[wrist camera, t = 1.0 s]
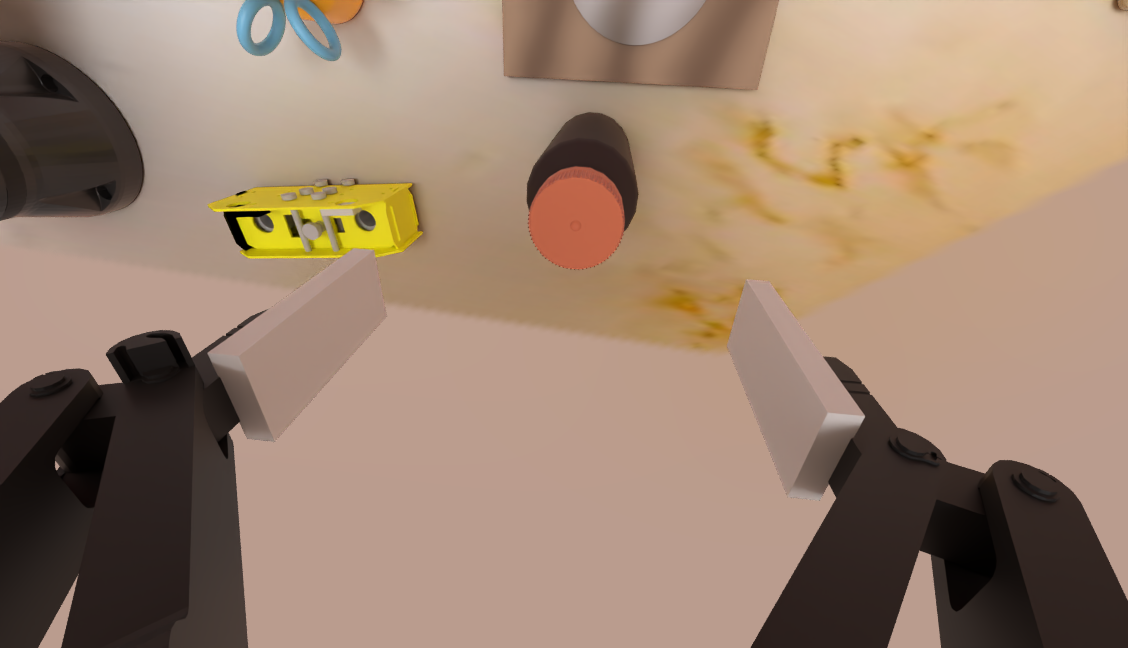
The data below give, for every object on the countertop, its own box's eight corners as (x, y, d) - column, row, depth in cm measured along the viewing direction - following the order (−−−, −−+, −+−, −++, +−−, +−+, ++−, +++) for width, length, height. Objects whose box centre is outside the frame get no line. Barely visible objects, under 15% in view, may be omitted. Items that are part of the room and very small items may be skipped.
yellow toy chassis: (414, 176, 42) (373, 199, 34) (426, 233, 45) (391, 266, 37) (259, 180, 43) (190, 203, 36) (281, 235, 46) (220, 267, 39)
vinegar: (629, 190, 40) (643, 284, 23) (556, 194, 41) (518, 288, 24) (629, 108, 37) (645, 149, 20) (549, 115, 38) (499, 159, 21)
